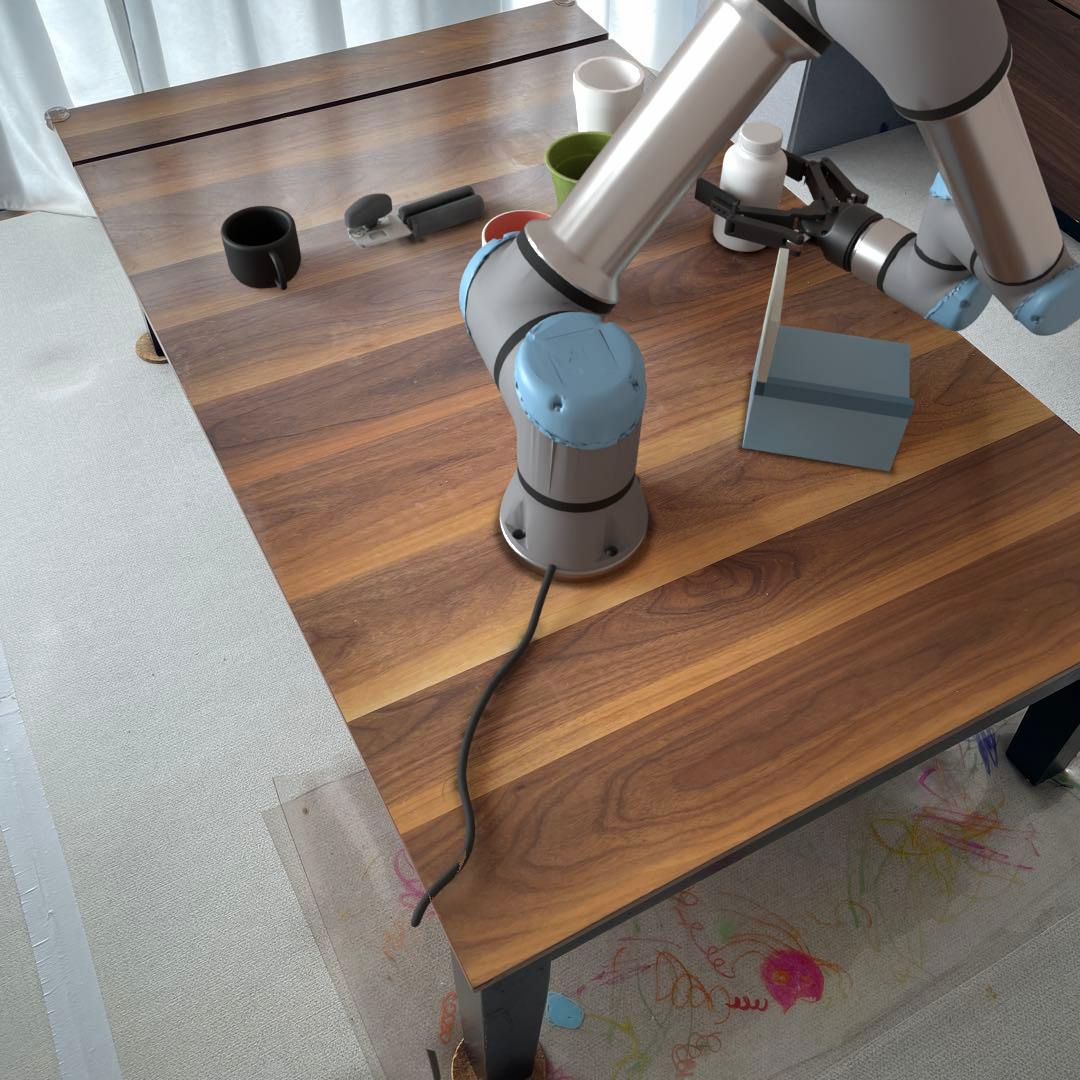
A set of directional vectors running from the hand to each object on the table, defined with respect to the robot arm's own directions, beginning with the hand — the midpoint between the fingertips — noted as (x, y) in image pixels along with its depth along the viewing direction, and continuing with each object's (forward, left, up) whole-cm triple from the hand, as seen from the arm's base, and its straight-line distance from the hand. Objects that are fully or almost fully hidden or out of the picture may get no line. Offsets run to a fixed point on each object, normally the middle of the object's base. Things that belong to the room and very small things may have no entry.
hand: (730, 168), depth 143 cm
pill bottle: (-2, -3, -8) cm, 9 cm away
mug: (-25, +54, -8) cm, 60 cm away
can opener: (-11, +39, -9) cm, 42 cm away
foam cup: (+11, +18, -8) cm, 23 cm away
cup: (-22, +22, -8) cm, 32 cm away
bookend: (-35, -15, -8) cm, 39 cm away
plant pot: (-6, +17, -8) cm, 20 cm away
